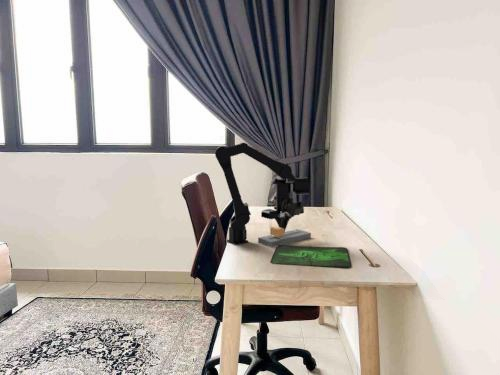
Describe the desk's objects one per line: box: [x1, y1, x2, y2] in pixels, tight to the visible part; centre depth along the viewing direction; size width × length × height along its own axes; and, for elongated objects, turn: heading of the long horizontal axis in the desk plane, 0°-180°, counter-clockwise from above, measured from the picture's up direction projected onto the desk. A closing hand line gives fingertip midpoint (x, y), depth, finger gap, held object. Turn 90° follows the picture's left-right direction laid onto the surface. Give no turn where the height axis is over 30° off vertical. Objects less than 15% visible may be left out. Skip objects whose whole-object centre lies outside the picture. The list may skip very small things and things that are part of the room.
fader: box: [269, 225, 284, 237], centre depth 153 cm, size 3×5×4 cm
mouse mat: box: [269, 244, 352, 269], centre depth 136 cm, size 27×22×1 cm
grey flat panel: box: [257, 228, 312, 248], centre depth 156 cm, size 22×8×2 cm, turn 128°
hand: (282, 232), depth 155 cm, fingers closed
